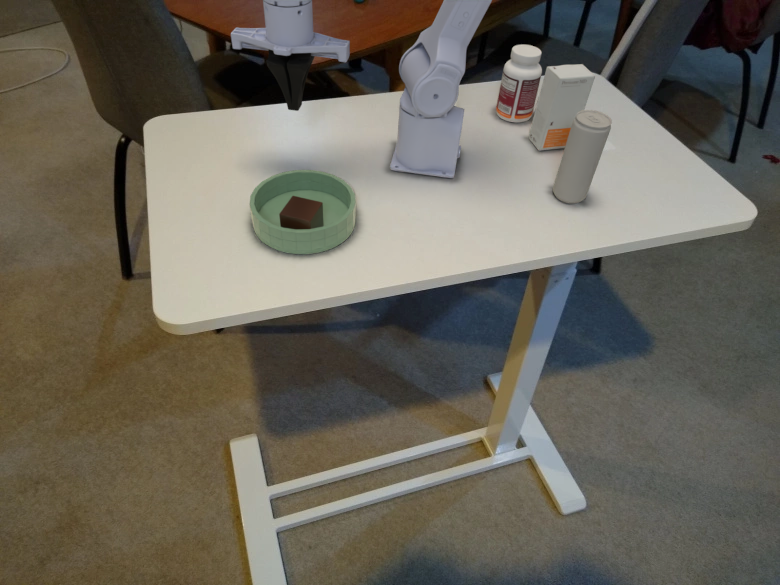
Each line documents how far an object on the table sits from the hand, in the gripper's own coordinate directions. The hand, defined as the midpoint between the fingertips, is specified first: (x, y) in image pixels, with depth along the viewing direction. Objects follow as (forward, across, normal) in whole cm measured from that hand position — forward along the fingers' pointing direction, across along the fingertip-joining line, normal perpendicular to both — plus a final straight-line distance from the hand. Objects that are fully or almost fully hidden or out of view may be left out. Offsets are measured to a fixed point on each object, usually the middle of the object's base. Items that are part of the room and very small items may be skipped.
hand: (295, 106), depth 77 cm
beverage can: (+10, +39, +2) cm, 40 cm away
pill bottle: (+10, +31, +24) cm, 40 cm away
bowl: (+9, +4, -12) cm, 16 cm away
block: (+9, +5, -15) cm, 18 cm away
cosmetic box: (+10, +37, +16) cm, 41 cm away
